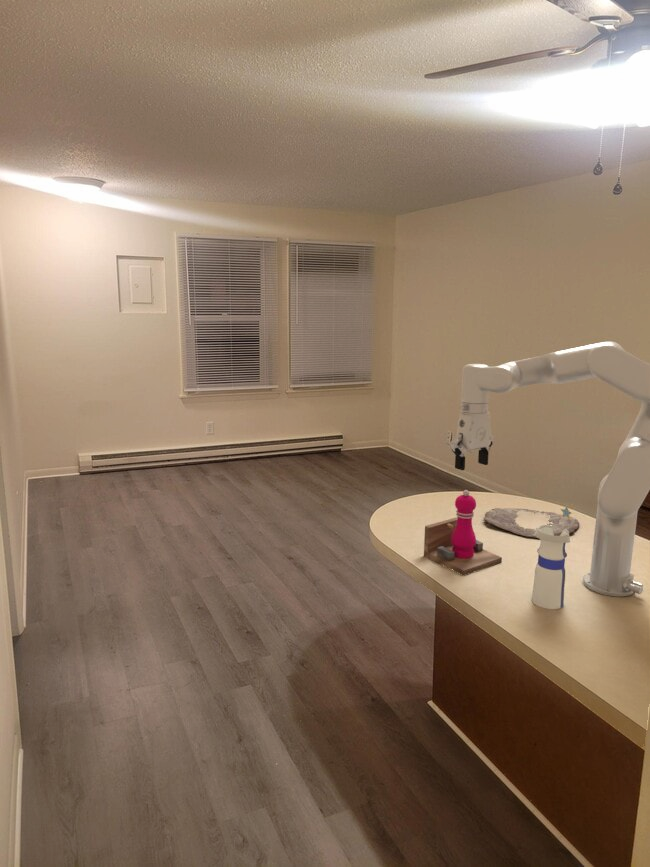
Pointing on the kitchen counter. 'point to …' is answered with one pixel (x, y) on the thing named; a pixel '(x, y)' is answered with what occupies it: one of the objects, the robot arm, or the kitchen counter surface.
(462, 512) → the pepper mill
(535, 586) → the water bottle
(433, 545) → the pegged stand
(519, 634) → the kitchen counter surface
